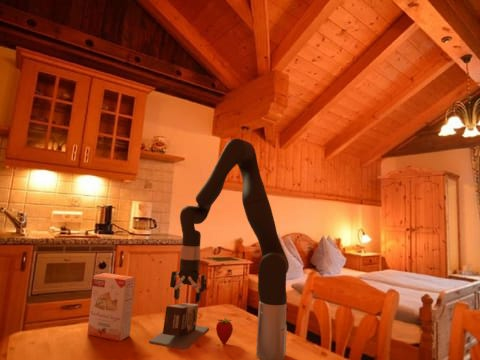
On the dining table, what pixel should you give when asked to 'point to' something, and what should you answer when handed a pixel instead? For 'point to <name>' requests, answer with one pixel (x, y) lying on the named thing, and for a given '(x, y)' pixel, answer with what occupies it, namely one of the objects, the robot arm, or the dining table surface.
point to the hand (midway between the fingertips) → (187, 300)
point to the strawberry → (224, 330)
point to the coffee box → (180, 319)
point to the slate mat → (180, 338)
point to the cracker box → (111, 306)
